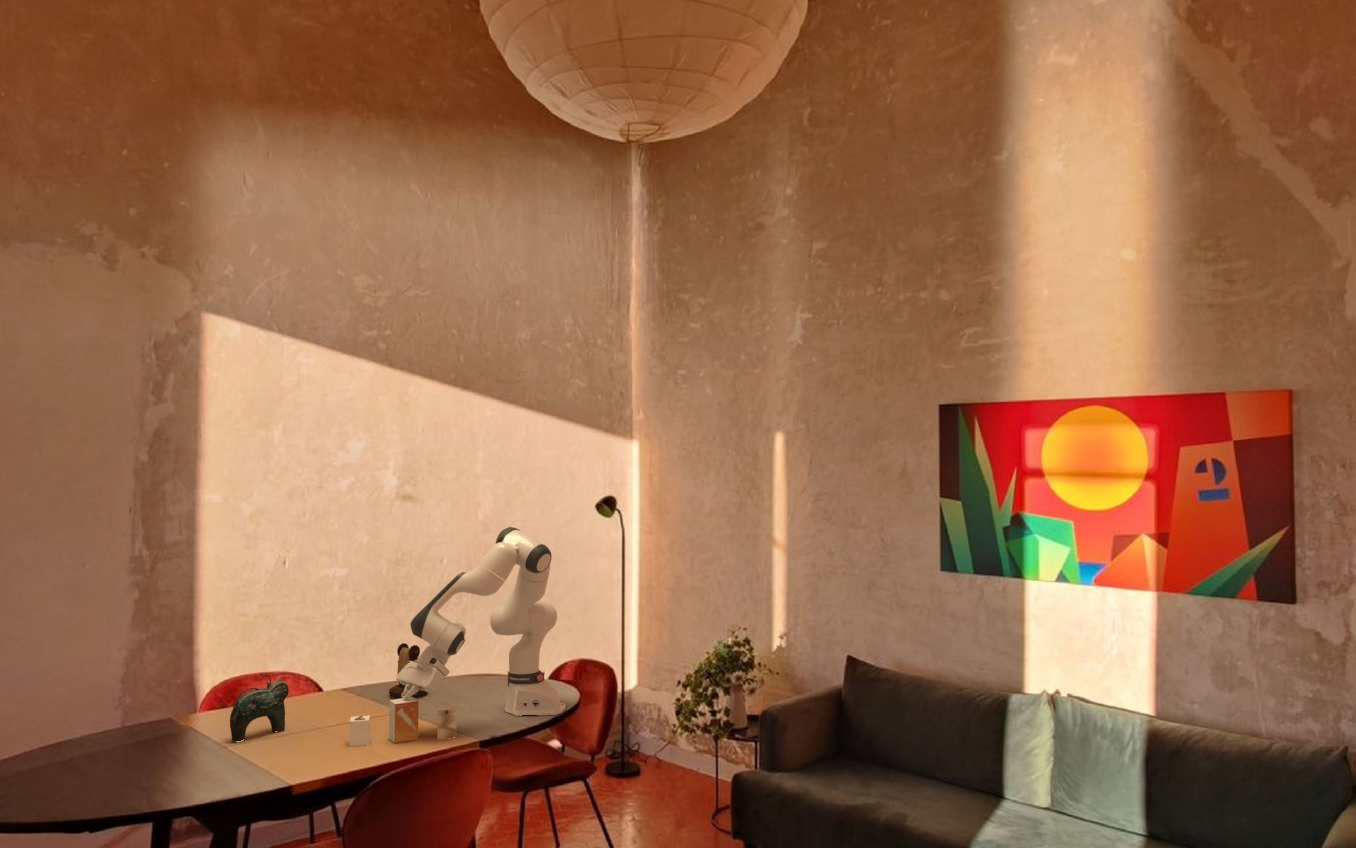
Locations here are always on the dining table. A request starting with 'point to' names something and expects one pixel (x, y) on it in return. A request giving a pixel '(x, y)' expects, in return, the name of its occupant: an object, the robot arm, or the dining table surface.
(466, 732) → the dining table surface
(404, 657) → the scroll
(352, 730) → the off-white block
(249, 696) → the bronze animal figurine
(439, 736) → the beech block
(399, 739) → the small box
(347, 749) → the dining table surface
